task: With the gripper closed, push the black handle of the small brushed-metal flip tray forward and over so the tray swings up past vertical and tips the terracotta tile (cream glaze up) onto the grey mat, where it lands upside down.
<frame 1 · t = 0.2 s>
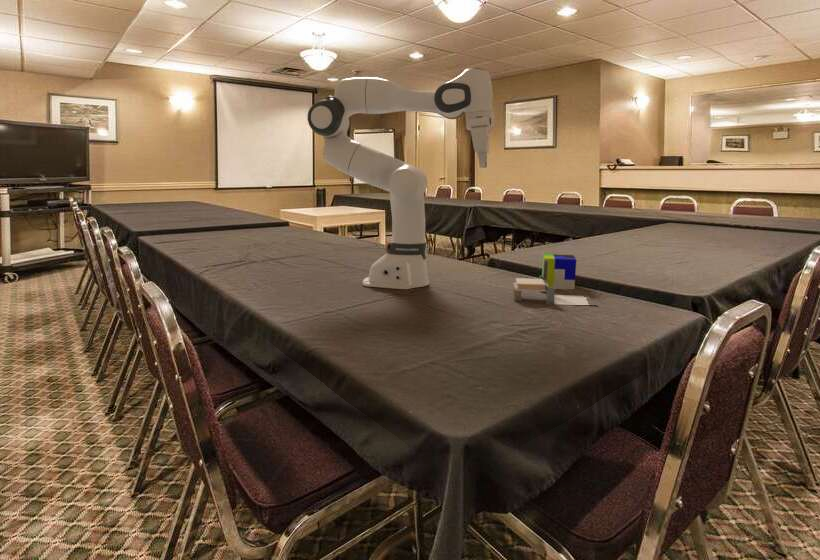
hand: (483, 167, 168), 39 cm above the table, tool pointing down, fingers open, 8 cm apart
puzzle toy: (557, 286, 177), on the table
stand: (547, 299, 157), on the table
flipper: (531, 275, 159), point 7 cm above the table, hinge at 0.0°, touching tile
mat: (573, 300, 157), on the table
tile: (529, 286, 157), point 4 cm above the table, touching flipper
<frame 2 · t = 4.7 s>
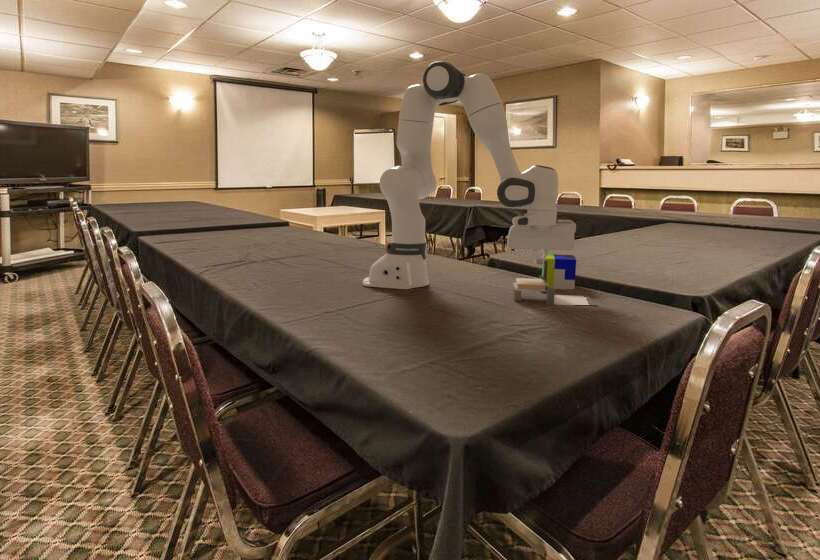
hand: (539, 263, 164), 9 cm above the table, tool pointing down, fingers closed
flipper: (531, 275, 159), point 7 cm above the table, hinge at 0.0°, touching gripper, tile
everything else where it was.
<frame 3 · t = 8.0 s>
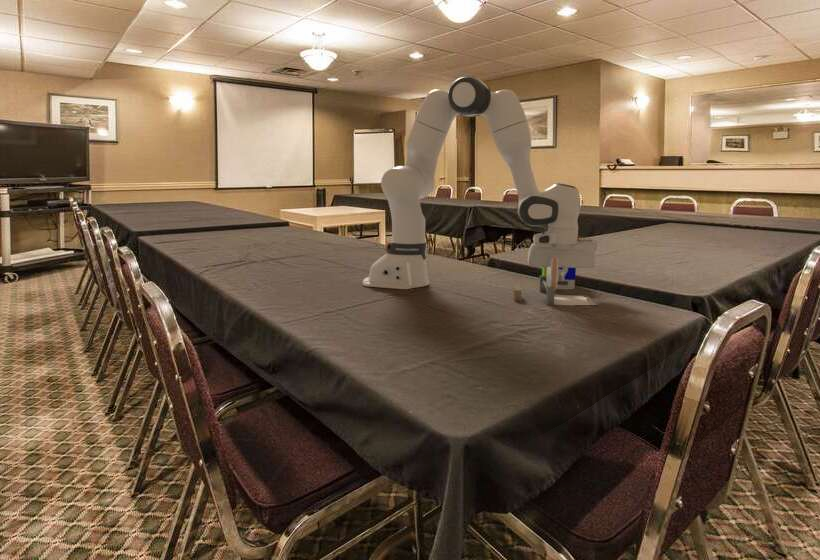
hand: (559, 281, 164), 4 cm above the table, tool pointing down, fingers closed, pressing on flipper
flipper: (558, 271, 158), point 8 cm above the table, hinge at 89.4°, touching gripper, tile
tile: (550, 271, 156), point 9 cm above the table, tilted 89°, touching flipper
everything else where it was.
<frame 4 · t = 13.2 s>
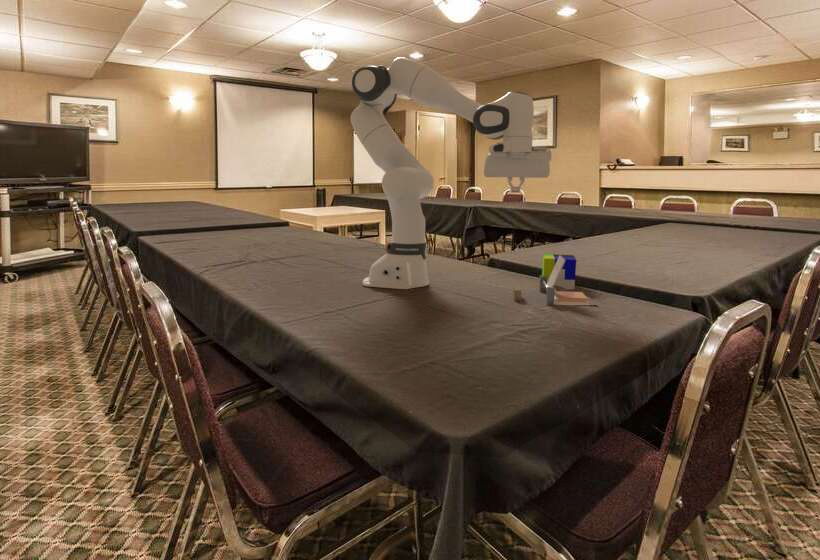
hand: (515, 192, 165), 31 cm above the table, tool pointing down, fingers closed
flipper: (563, 275, 158), point 7 cm above the table, hinge at 110.0°
tile: (570, 294, 156), point 2 cm above the table, tilted 180°, touching mat
everything else where it was.
at the end: tile tilted 180°; tile inside the target area (1.8 cm from its centre), point 1.8 cm above the table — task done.
